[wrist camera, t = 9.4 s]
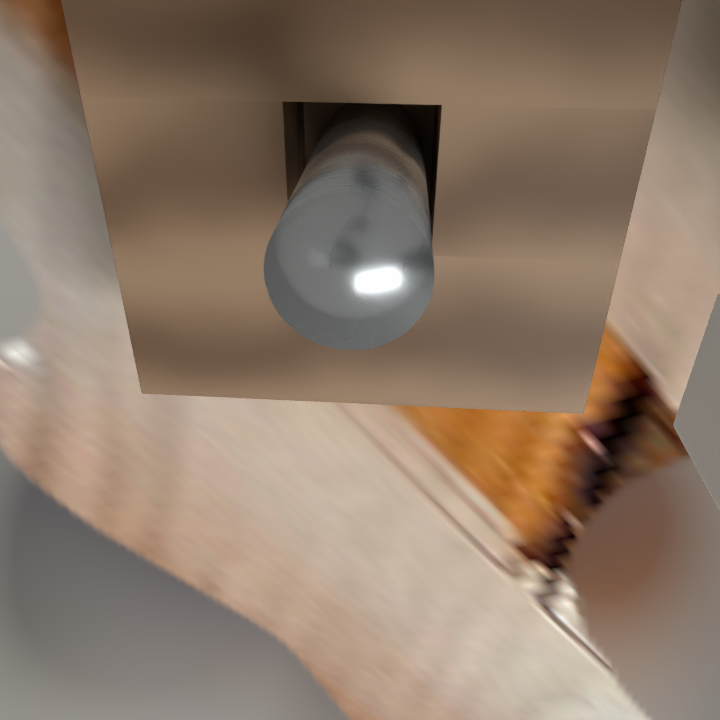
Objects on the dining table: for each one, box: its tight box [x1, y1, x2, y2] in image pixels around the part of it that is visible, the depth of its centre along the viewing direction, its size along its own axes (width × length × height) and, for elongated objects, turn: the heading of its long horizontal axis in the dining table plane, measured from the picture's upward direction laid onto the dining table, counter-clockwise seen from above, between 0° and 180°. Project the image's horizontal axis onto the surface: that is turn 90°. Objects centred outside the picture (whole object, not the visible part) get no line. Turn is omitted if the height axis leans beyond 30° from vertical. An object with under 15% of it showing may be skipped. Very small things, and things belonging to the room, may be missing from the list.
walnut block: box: [61, 0, 682, 414], centre depth 24 cm, size 18×18×6 cm
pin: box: [264, 103, 434, 350], centre depth 20 cm, size 4×4×12 cm
